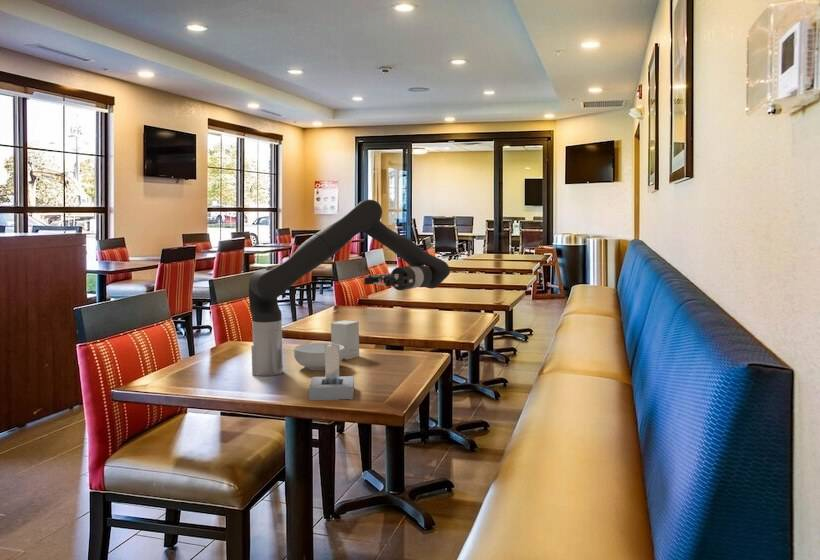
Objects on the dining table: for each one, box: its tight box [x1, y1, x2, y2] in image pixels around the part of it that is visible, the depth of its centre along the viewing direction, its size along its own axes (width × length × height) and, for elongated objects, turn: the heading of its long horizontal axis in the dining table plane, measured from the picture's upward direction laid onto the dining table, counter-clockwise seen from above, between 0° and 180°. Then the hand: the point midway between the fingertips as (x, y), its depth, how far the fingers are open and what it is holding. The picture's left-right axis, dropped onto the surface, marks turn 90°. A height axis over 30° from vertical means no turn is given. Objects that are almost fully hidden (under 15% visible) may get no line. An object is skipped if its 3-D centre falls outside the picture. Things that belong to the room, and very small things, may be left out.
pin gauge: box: [324, 344, 340, 385], centre depth 185 cm, size 4×4×14 cm
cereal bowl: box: [293, 342, 345, 371], centre depth 216 cm, size 17×17×7 cm
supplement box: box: [330, 319, 360, 360], centre depth 232 cm, size 7×7×13 cm
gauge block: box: [308, 375, 355, 401], centre depth 185 cm, size 12×12×4 cm
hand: (375, 282), depth 201 cm, fingers open, 8 cm apart
